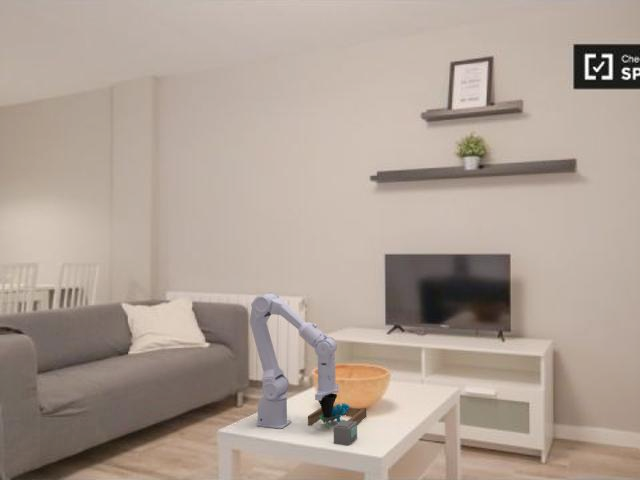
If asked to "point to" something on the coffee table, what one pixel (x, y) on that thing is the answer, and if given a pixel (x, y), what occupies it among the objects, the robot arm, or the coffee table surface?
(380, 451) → the coffee table surface
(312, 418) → the frame
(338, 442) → the block
